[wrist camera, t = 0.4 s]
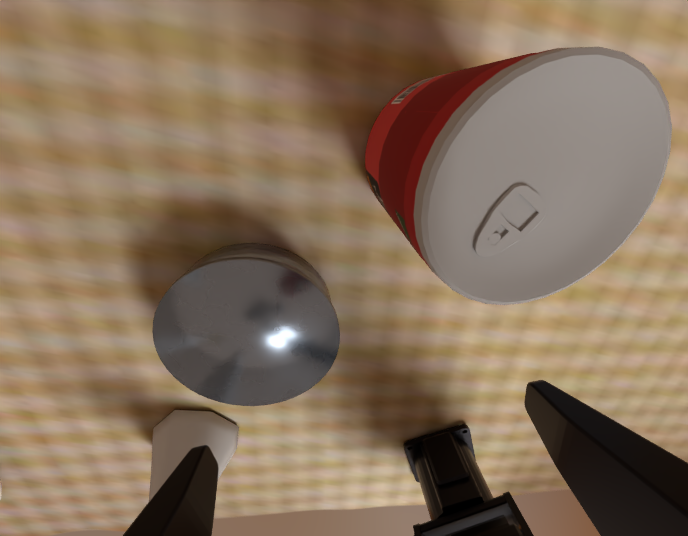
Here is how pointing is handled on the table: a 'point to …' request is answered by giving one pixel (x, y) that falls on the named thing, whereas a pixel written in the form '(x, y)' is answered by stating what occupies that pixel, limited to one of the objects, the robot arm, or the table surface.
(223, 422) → the flask
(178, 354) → the biscuit tin
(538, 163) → the canned food
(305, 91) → the table surface
